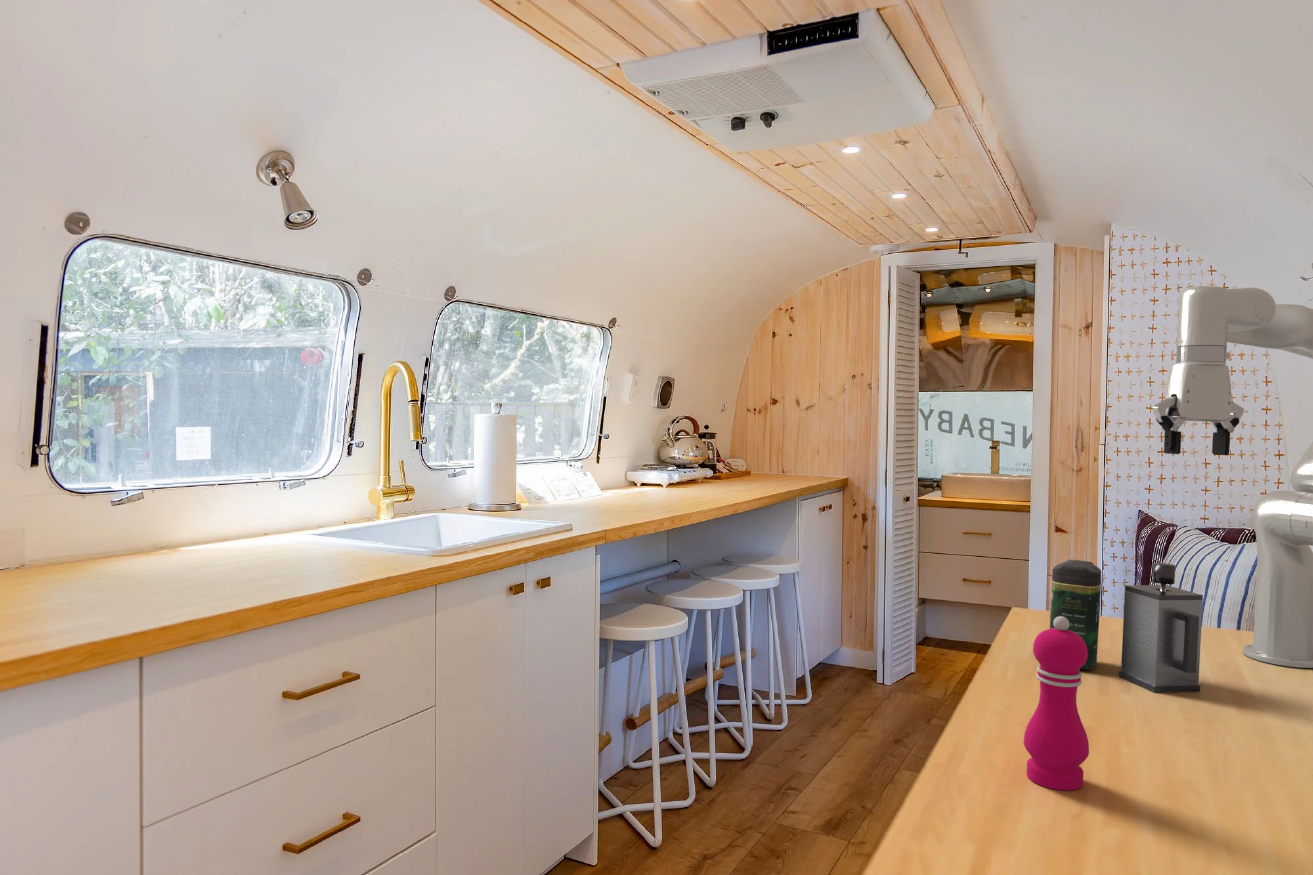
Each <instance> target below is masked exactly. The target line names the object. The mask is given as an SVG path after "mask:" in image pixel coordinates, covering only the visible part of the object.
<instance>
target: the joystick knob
mask: <svg viewBox="0 0 1313 875" xmlns="http://www.w3.org/2000/svg"><path fill="white" fill-rule="evenodd" d="M1152 565H1153V567H1152V582H1153V583H1154V584H1155V583H1156V584H1159V585H1161V587H1160V591H1166V585H1174V584H1176V583H1175V582H1176V565H1175V564H1172V563H1168V562H1167V563H1166V562H1153V564H1152Z"/></svg>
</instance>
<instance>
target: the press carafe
mask: <svg viewBox="0 0 1313 875" xmlns="http://www.w3.org/2000/svg"><path fill="white" fill-rule="evenodd" d="M1160 587H1161V584H1159V585H1155V584H1154V585H1153V584H1152V585H1151V584H1148V585H1145V584H1144V585H1143V584H1141V585H1140V584H1138V585H1136V584H1135V585H1134V584H1133V585H1132V584H1131V585H1125V584H1124V598H1123V599H1124V600H1123V601H1124V602H1123V623H1122V645H1121V662H1120V664H1121V666H1120V670H1118V677H1119V678H1121V679H1123V680H1125V681H1128V682H1130V683H1132V684H1134V685H1136V686H1139V687H1141V688H1142V689H1145V690H1148V691H1150V692H1152V693H1155V694H1157V693H1189V692H1192V693H1194V692H1201V684H1200V683H1199V681H1200V663H1201V662H1200V661H1201V660H1200V659H1201V642H1202V641H1201V640H1202V623H1203V621H1202V619H1203V603H1204V602H1203V600H1204V595H1203V594H1200V593H1196V592H1193V591H1189V590H1186V589H1182V588H1178V587H1176V586H1175V587H1174V586H1171V585H1169V584H1166V591H1160Z"/></svg>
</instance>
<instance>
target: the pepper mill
mask: <svg viewBox="0 0 1313 875" xmlns="http://www.w3.org/2000/svg"><path fill="white" fill-rule="evenodd" d="M1053 625H1054V627H1055V628H1051V629H1050V628H1047V629H1044V630H1042V631H1041V632H1039V633H1038V635H1036V636H1035V639H1034V641H1033V645H1032V654H1033V655H1034V658H1035V659H1036V661H1037V662H1038V663H1039V665H1037V667H1036V672H1037V673H1036V676H1035V678H1036V679H1037V680H1038V681H1039V689H1040V690H1039V699H1038V702H1037V703H1038V704H1037V706H1036V708H1035V710H1034V713H1033V714H1032V716H1031V717H1030V719H1029V721H1028V723H1027V725H1026V728H1025V730H1024V735H1023V745H1024V749H1025V750H1026V751H1027V752H1028V754H1029V756H1030V758H1029V759H1027V761H1026V777H1027V778H1028V780H1030V781H1031V780H1032V781H1031V782H1032V783H1034V782H1035V783H1034V784H1036V785H1038V784H1039V785H1038V786H1041V787H1043V788H1047V789H1051V790H1056V791H1064V792H1065V791H1067V792H1068V791H1070V792H1071V791H1077V790H1080V789H1081V788H1082V787H1083V785H1084V769H1083V768H1082V767H1081V766H1080V765H1082V764H1083V763H1084V762H1085V761H1086V760H1087V759H1088V757H1089V755H1090V746H1089V745H1090V744H1089V738H1088V735H1087V731H1086V729H1085V727H1084V725H1083V722H1082V719H1081V716H1080V714H1079V710H1078V705H1077V704H1078V703H1077V694H1078V693H1077V692H1078V687H1079V686H1081V685H1082V682H1083V681H1082V677H1083V673H1082V672H1081V671H1080V670H1081V669H1080V668H1081V667H1082V666H1083V665H1084V664H1085V663H1086V661H1087V656H1088V651H1087V646H1086V644H1085V642H1084V640H1083V639H1082V638H1081V637H1080V636H1079V635H1078V634H1076V633H1074V632H1072V631H1070V630H1067V629H1068V628H1069V621H1068V620H1067V619H1066V618H1065V617H1062V616H1059V617H1056V618H1055V619H1054V621H1053Z"/></svg>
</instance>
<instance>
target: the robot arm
mask: <svg viewBox="0 0 1313 875" xmlns="http://www.w3.org/2000/svg"><path fill="white" fill-rule="evenodd" d="M1177 321H1178V322H1177V340H1176V342H1177V343H1176V356H1175V357H1176V361H1175V364H1173V365H1171V368H1170V370H1169V373H1168V377H1167V382H1166V388H1165V394H1164V399H1163V400H1161V401H1160V402H1158V403H1156V404H1154V405H1153V406H1152V411H1153V414H1154V415H1155V417H1156V418H1155V420H1156V422H1157V423H1158V424H1159V425H1160V429H1161V430H1162V431H1163V432H1164V435H1163V436H1164V437H1163V438H1164V440H1163V453H1164V454H1168V455H1180V454H1181V448H1182V447H1181V446H1182V432H1181V431H1180V430H1179V429H1180V428H1181V427H1182V426H1183V424H1185V422H1210V423H1211V425H1212V426H1213V428H1214V429H1215V432H1214V431H1213V432H1212V445H1211V454H1213V455H1215V456H1216V455H1217V456H1229V455H1230V445H1231V444H1230V443H1231V434H1233V433H1234V431H1235V428H1236V427H1237V426H1238V425H1239V424H1240V419H1241V418H1242V416H1243V414H1244V411H1245V409H1244V407H1242V406H1240V405H1238V404H1237V403H1235V402H1234V401H1233V400H1232V384H1231V383H1232V382H1231V374H1230V370H1229V365H1227V360H1229V358H1230V356H1231V355H1230V353H1229V352H1228V351H1227V350H1228V349H1227V348H1228V343H1231V344H1238V345H1245V346H1250V347H1251V346H1253V347H1256V348H1264V349H1271V350H1281V351H1285V352H1288V353H1291V354H1296V355H1298V356H1302V357H1304V358H1309V359H1311V360H1313V308H1310V307H1308V306H1305V305H1302V304H1301V305H1300V304H1291V303H1288V304H1287V303H1279V304H1278V303H1277V304H1276V301H1275V299H1274V297H1273V296H1272V295H1271V293H1269V292H1268V291H1266V290H1264V289H1262V288H1258V287H1241V288H1225V287H1222V286H1218V285H1216V286H1215V285H1205V286H1203V285H1202V286H1193V287H1188V288H1184V290H1182V291H1181V292H1180V295H1179V300H1178V317H1177ZM1289 479H1290V485H1291V487H1292V489H1293V490H1273V491H1270V492H1267V493H1265V494H1263V495H1261V496H1260V497H1259V498H1258V499H1257V500H1256V502H1255V503H1254V506H1253V509H1252V510H1253V511H1252V520H1253V521H1252V522H1253V527H1254V531H1255V538H1256V552H1257V553H1256V556H1257V557H1256V558H1257V561H1256V578H1255V579H1256V581H1255V599H1254V600H1255V601H1254V619H1253V638H1252V643H1251V644H1247V645H1244V646H1243V647H1242V653H1243V654H1244V655H1245V656H1247V657H1249V658H1251V659H1253V660H1257V661H1260V662H1262V663H1263V662H1264V663H1268V664H1272V665H1277V666H1278V665H1279V666H1284V667H1290V668H1291V667H1292V668H1299V669H1300V668H1301V669H1302V668H1303V669H1313V550H1312V548H1311V546H1312V547H1313V441H1312V442H1311V444H1310V445H1309V447H1308V448H1307V449H1306V450H1305V452H1304V453H1303V454H1302V455H1301V457H1300V458H1299V460H1298V461H1297V463H1296V464H1295V466H1294V467H1293V469H1292V472H1291V473H1290V478H1289Z"/></svg>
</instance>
